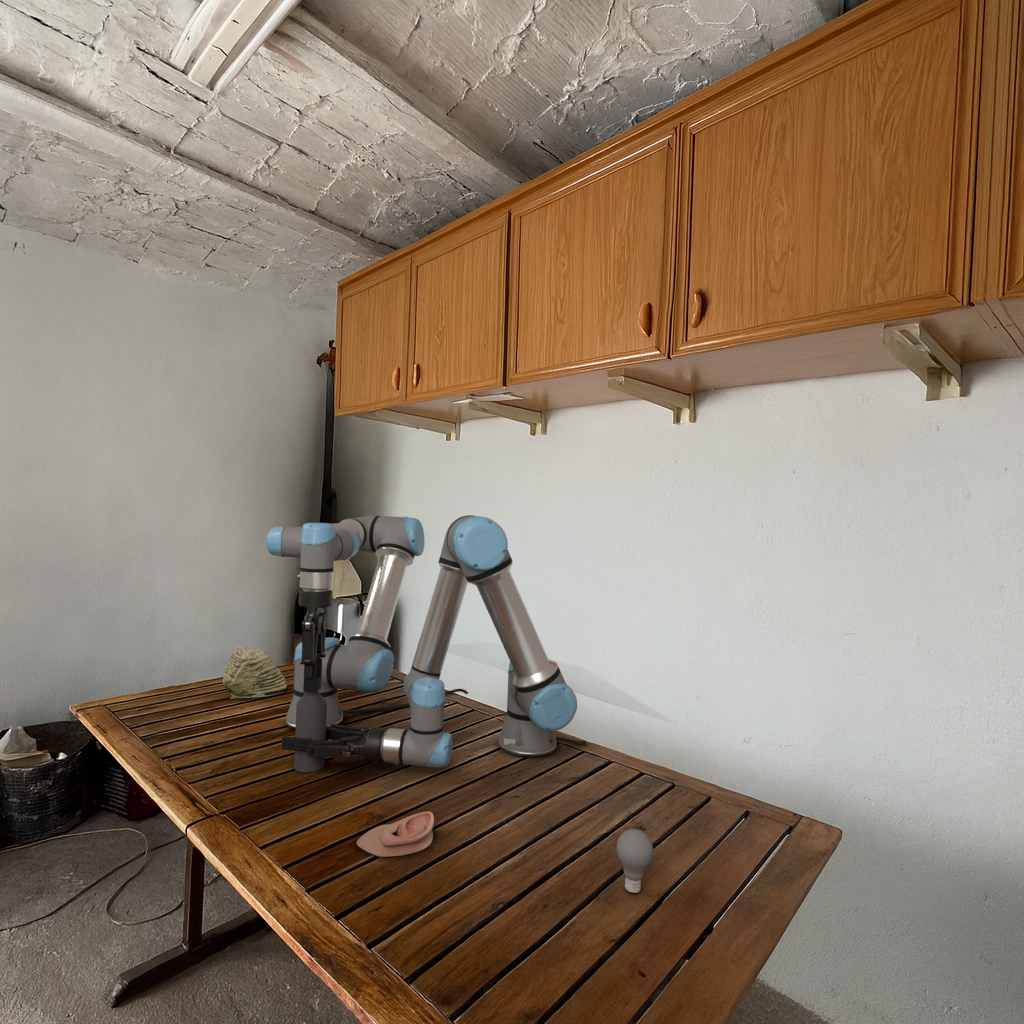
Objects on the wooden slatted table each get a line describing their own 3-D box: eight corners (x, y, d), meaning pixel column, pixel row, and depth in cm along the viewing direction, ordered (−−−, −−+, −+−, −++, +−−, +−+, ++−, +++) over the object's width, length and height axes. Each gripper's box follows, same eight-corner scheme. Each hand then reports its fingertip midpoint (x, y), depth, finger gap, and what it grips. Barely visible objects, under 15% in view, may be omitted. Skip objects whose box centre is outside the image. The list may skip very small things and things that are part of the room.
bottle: (319, 773, 145) (322, 686, 145) (289, 771, 145) (292, 684, 145) (328, 760, 152) (331, 677, 151) (299, 759, 152) (303, 676, 151)
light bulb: (610, 879, 108) (613, 822, 108) (644, 879, 109) (647, 822, 109) (619, 902, 102) (622, 840, 102) (655, 901, 103) (658, 840, 103)
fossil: (218, 695, 195) (220, 647, 195) (278, 685, 208) (279, 640, 207) (228, 703, 189) (230, 653, 188) (289, 692, 201) (290, 645, 201)
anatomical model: (349, 829, 113) (376, 800, 125) (348, 851, 113) (375, 820, 125) (420, 841, 111) (440, 810, 122) (419, 863, 111) (439, 830, 122)
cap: (321, 685, 151) (321, 676, 151) (321, 690, 147) (321, 681, 147) (303, 686, 149) (303, 677, 149) (303, 691, 146) (303, 681, 145)
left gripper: (309, 583, 156) (306, 678, 156) (288, 594, 139) (284, 699, 139) (340, 584, 156) (336, 678, 157) (323, 595, 139) (319, 700, 140)
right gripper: (370, 779, 137) (268, 770, 139) (396, 745, 156) (307, 737, 159) (371, 745, 136) (270, 736, 139) (397, 714, 156) (308, 707, 159)
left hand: (312, 688), depth 148 cm, fingers closed on cap, 4 cm apart
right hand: (290, 737), depth 149 cm, fingers closed on bottle, 7 cm apart
